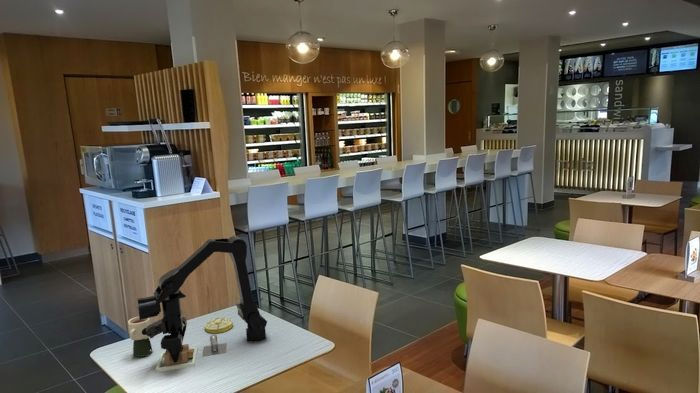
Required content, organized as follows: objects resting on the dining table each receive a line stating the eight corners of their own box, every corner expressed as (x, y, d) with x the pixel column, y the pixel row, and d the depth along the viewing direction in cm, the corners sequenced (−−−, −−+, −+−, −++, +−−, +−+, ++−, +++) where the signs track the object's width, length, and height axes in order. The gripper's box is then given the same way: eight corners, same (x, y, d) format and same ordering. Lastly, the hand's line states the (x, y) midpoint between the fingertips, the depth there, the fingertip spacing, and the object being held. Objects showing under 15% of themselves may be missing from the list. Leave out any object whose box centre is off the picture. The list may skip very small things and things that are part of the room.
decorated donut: (219, 322, 193) (218, 314, 192) (238, 327, 187) (238, 318, 186) (199, 333, 184) (198, 323, 183) (218, 338, 178) (217, 328, 178)
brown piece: (168, 357, 163) (167, 347, 162) (194, 353, 165) (192, 343, 164) (165, 367, 156) (164, 356, 156) (192, 363, 158) (191, 352, 158)
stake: (226, 345, 172) (225, 330, 171) (226, 355, 164) (224, 339, 163) (203, 348, 170) (202, 333, 169) (202, 358, 162) (200, 342, 161)
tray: (197, 351, 168) (197, 347, 167) (194, 368, 156) (194, 363, 156) (161, 357, 165) (161, 352, 165) (156, 374, 153) (155, 369, 153)
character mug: (144, 361, 162) (140, 326, 161) (125, 361, 163) (120, 326, 161) (160, 347, 173) (156, 313, 171) (141, 347, 174) (137, 313, 172)
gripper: (151, 305, 165) (156, 347, 167) (140, 326, 147) (146, 373, 149) (184, 301, 167) (189, 342, 170) (178, 321, 149) (183, 367, 152)
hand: (177, 355), depth 160 cm, fingers open, 9 cm apart
